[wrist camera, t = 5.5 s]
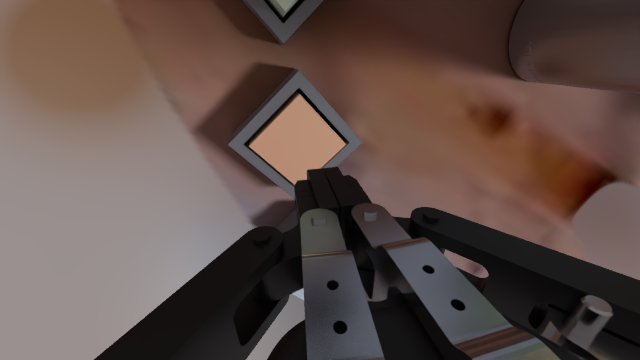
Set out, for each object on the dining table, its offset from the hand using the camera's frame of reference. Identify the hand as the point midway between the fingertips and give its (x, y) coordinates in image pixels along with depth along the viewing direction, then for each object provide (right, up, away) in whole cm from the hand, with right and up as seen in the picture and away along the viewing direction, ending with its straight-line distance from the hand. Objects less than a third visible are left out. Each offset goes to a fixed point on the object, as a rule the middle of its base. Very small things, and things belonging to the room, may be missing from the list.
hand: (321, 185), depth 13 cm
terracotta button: (-2, +4, +10) cm, 11 cm away
